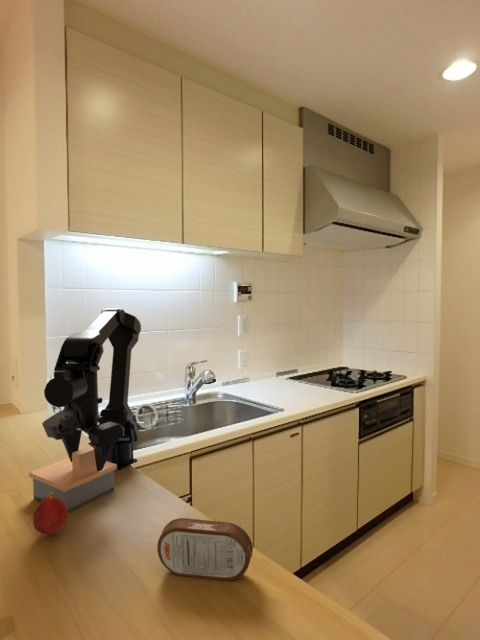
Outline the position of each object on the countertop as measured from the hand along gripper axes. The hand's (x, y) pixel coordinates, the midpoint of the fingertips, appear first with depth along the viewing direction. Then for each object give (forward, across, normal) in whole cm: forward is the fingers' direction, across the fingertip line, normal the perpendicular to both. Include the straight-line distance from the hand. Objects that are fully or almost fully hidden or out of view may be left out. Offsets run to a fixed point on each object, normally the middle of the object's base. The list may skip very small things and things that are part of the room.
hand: (86, 465), depth 87 cm
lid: (+4, -4, 0) cm, 6 cm away
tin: (+8, +36, -5) cm, 38 cm away
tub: (+8, -4, 0) cm, 9 cm away
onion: (+8, +6, -12) cm, 15 cm away
